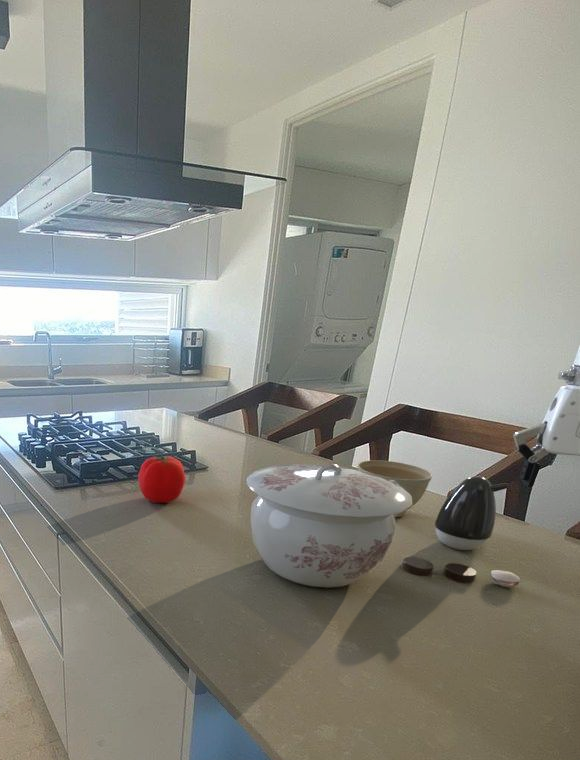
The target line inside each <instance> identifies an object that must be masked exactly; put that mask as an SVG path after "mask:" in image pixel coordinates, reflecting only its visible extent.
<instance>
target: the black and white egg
mask: <svg viewBox="0 0 580 760" xmlns="http://www.w3.org/2000/svg"><path fill="white" fill-rule="evenodd" d="M508 488H509V484H508V483H507V482H505V483H499V484H498V483H497V484H492V483H491V481H489V480H488V479H487V478H485V477H483V476H478V475H477V476H470V477H467V478H465V479H463V480H462V481H461V482H460V483H458V485H457V486H456V487H455V488H454V489H453V490H452V491H451V493H450V494H449V495H448V497H447V498H446V500H445V501H444V502H443V504H442V505H441V507H440V510H439V512H438V514H437V516H436V518H435V521H434V527H435V534H436V538H437V539H438V540H439V542H441V544H443V545H445V546H446V547H449V548H451V549H455V550H457V551H458V550H460V551H472V550H476V549H478V548H481V547H482V546H483V545H484V544H485V543H486V542H487V541H488V539H490V538H491V537H492V536H493V532H494V528H495V523H496V514H497V513H496V512H497V506H496V505H497V504H496V496H495V493H497V492H499V491H503V490H506V489H508Z"/></svg>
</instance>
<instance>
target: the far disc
mask: <svg viewBox="0 0 580 760" xmlns="http://www.w3.org/2000/svg"><path fill="white" fill-rule="evenodd" d="M401 568H402V569H403V570H404V571H406V572H407V573H409V574H413V575H415V576H416V575H417V576H422V577H424V576H425V577H427V576H430V575H431V574H432V572H433V569H434V564H433V563H432V562H431V561H430V560H427V559H424V558H423V557H422V558H421V557H417V556H407V557H405V558H403V561H402V565H401Z"/></svg>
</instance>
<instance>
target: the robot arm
mask: <svg viewBox="0 0 580 760" xmlns="http://www.w3.org/2000/svg"><path fill="white" fill-rule="evenodd" d="M557 378H558V380H564V381H565V384H566V385H565V386H560V388H559V389H558V391H557V392H556V394H555V396H554V398H553V400H552V401H551V403H550V405H549V407H548V409H547V411H546V413H545V415H544V418H543V420H542V423H539V424H537V425H534V426H530V427H528V428H525V429H522V430H519V431H516V432H513V434H512V437H513V441H514V444H515V446H516V447H515V449H516V450H517V451H518V452H519V453H520V455H521V456H522V457H523V459H524V463H523V465H522V469H521V472H520V476H519V478H520V480H521V483H522V484H523V485H525V486H526V487H527V488H532V487H534V485H535V482H536V479H537V476H538V473H539V470H540V467H541V464H540V463H539V461H540V460H541V459H543V458H544V457H546V456H547V455H549V454H554V455H563V456H576V457H577V456H578V457H580V345H579V346H578V350H577V351H576V355H575V358H574V361H573V364H572V365H570V367H569V369H563V370H562V369H561V370H560V371H559V372H558V376H557ZM535 436H536V440H535V441H536V442H535V444H536V445H534V446H533V447H532V448H530V447H529V446H528V441H527V440H528V439H530V438H532V437H535Z"/></svg>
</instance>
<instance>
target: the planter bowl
mask: <svg viewBox="0 0 580 760" xmlns="http://www.w3.org/2000/svg"><path fill="white" fill-rule="evenodd" d="M357 471H361V472H365V473H368V474H371V475H374V476H377V477H380V478H383V479H386V480H388V481H389V480H394V481H396V482H397V483H398V484H400V486H401V487H402V488H403V489H405V490H406V491H407V492H408V493H409V494H410V495H411V496H412V506H410V507H409V508H407V509H406V510H404V511H403V512H401V513H399V514H398V515H397V516H396V517H395V518H400V517H403V516H404V515H405V514H406V513H407V511H408V510H409V509H411V508H412V507H413V506H414V505H416V504H418V502H419V501H420V500H421V499H422V497H423V496H424V495H425V493H426V491H427V490H428V489H427V488H428V486H429V483H430V482H431V481H432V478H433V474H432V473H431V472H430V471H429V470H427V469H425V468H423V467H419V466H417V465H412V464H408V463H404V462H399V461H392V460H364V461H361V462H359V463H358V464H357Z"/></svg>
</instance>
